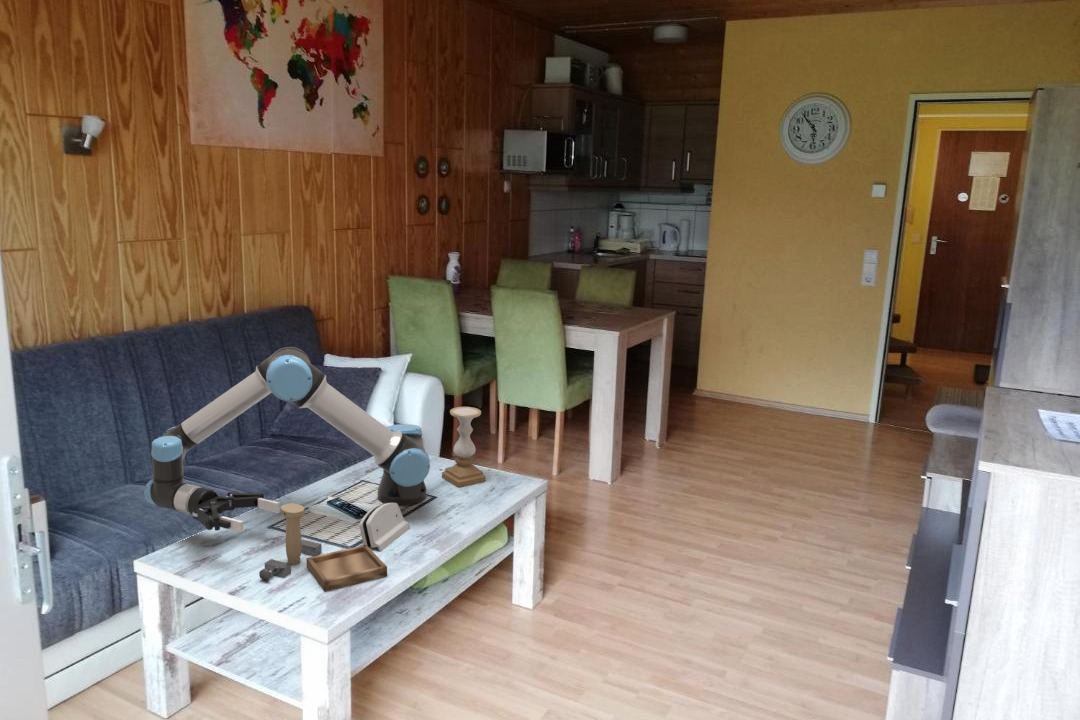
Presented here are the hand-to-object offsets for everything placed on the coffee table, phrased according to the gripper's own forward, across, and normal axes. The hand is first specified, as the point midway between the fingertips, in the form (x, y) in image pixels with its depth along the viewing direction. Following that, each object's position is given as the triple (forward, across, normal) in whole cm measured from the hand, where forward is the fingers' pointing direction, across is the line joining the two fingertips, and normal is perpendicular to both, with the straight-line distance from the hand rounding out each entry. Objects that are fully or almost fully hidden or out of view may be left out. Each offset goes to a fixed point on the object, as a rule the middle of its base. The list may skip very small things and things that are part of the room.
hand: (261, 517), depth 206 cm
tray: (+25, -2, -10) cm, 27 cm away
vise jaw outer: (+10, +8, -11) cm, 17 cm away
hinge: (+22, -23, -11) cm, 34 cm away
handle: (+10, 0, -11) cm, 15 cm away
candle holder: (+22, -72, -10) cm, 76 cm away
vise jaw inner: (+10, -6, -10) cm, 16 cm away
